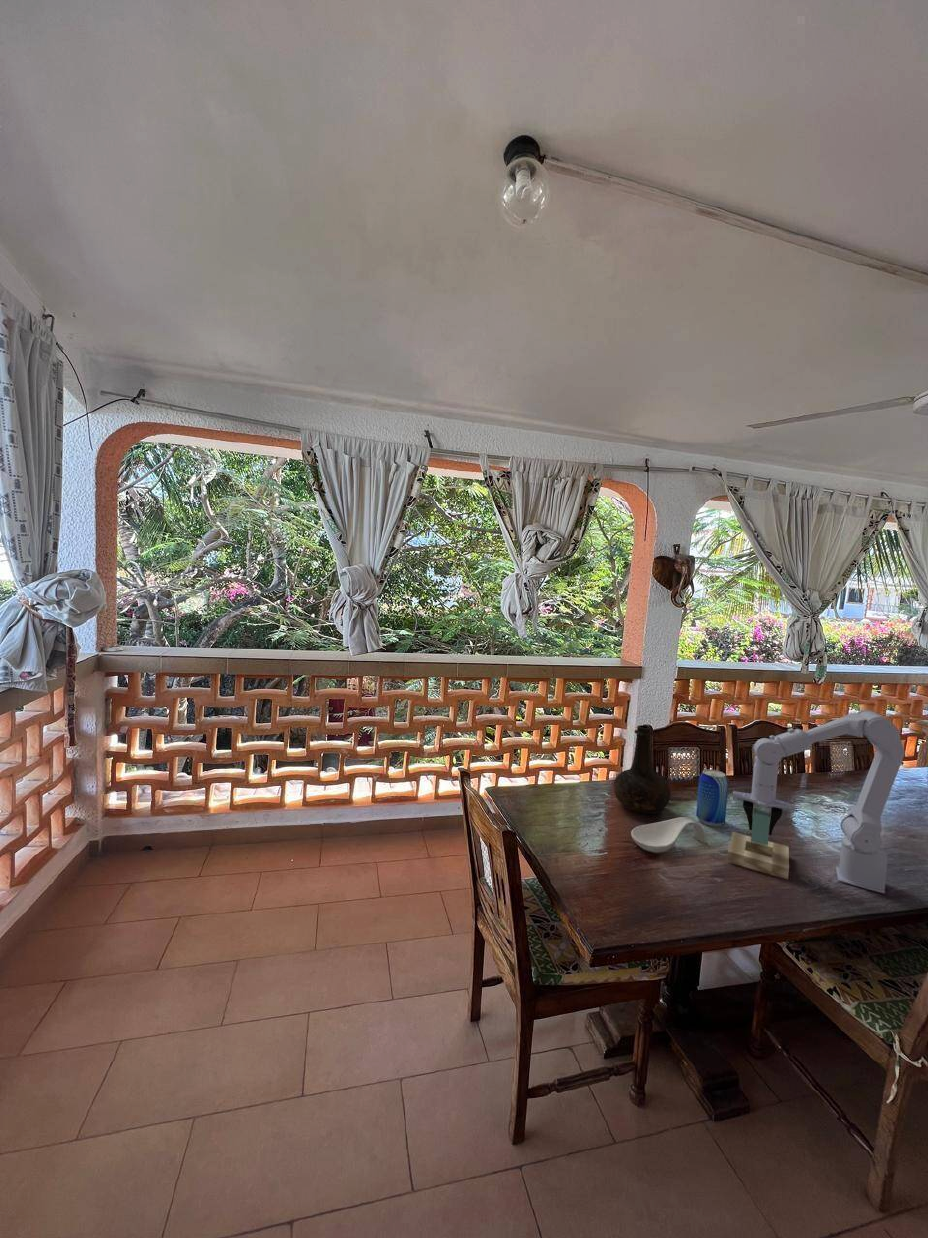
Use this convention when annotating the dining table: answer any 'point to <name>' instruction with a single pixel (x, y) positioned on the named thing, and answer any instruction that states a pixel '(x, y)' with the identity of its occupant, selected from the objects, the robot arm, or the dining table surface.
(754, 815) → the teal block
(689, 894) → the dining table surface
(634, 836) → the spoon rest
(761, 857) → the board
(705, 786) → the beer can
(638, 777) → the glass bottle
